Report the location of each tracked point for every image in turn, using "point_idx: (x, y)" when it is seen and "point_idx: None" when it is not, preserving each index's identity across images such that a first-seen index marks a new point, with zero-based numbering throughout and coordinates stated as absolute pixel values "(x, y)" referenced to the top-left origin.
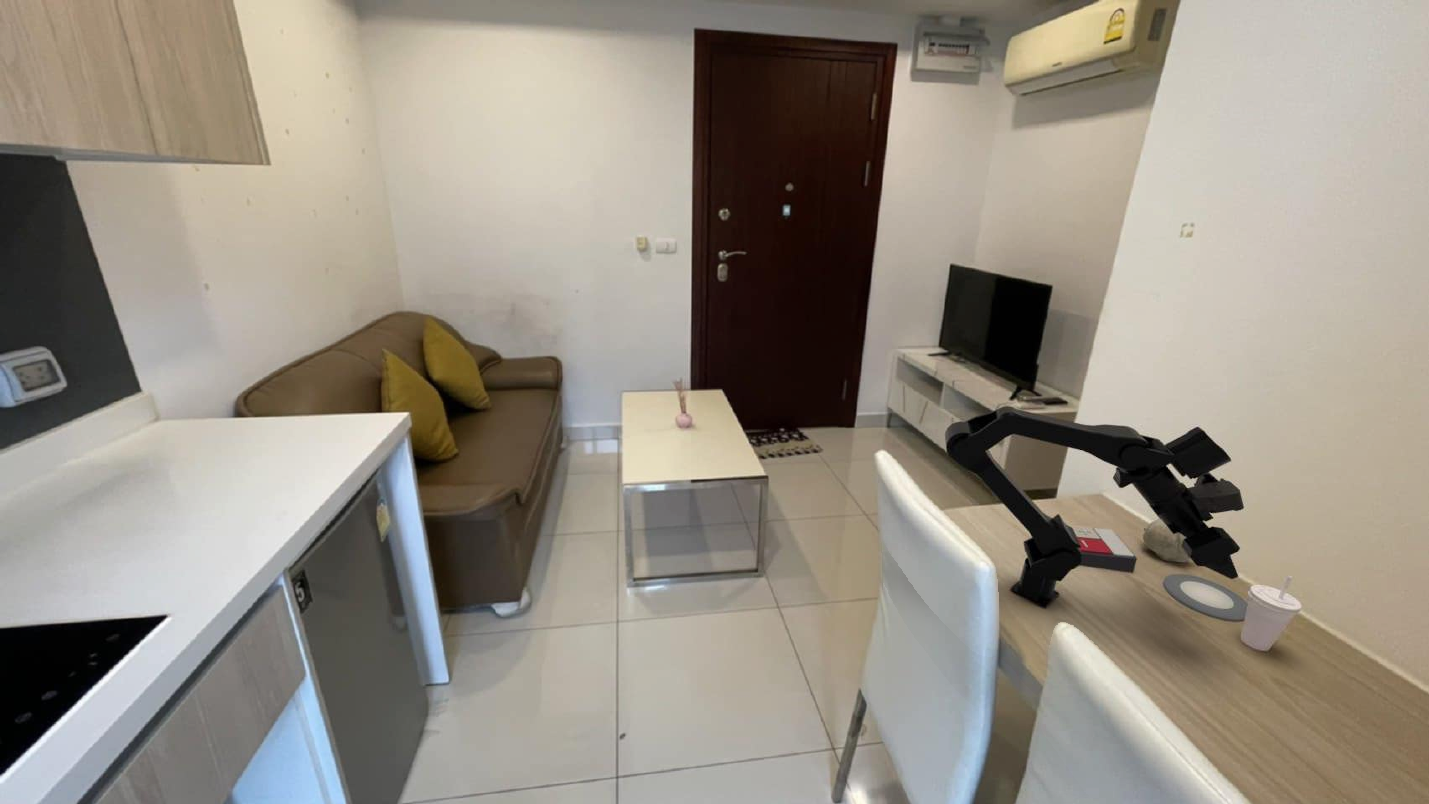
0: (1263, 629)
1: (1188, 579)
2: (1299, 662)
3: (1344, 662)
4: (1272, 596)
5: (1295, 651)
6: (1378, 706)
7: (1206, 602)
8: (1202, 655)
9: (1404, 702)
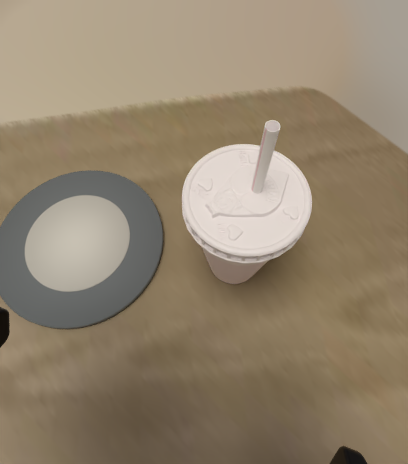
0: (266, 262)
1: (18, 236)
2: None
3: None
4: (251, 207)
5: None
6: (379, 178)
7: (105, 265)
8: (292, 445)
9: (357, 131)
